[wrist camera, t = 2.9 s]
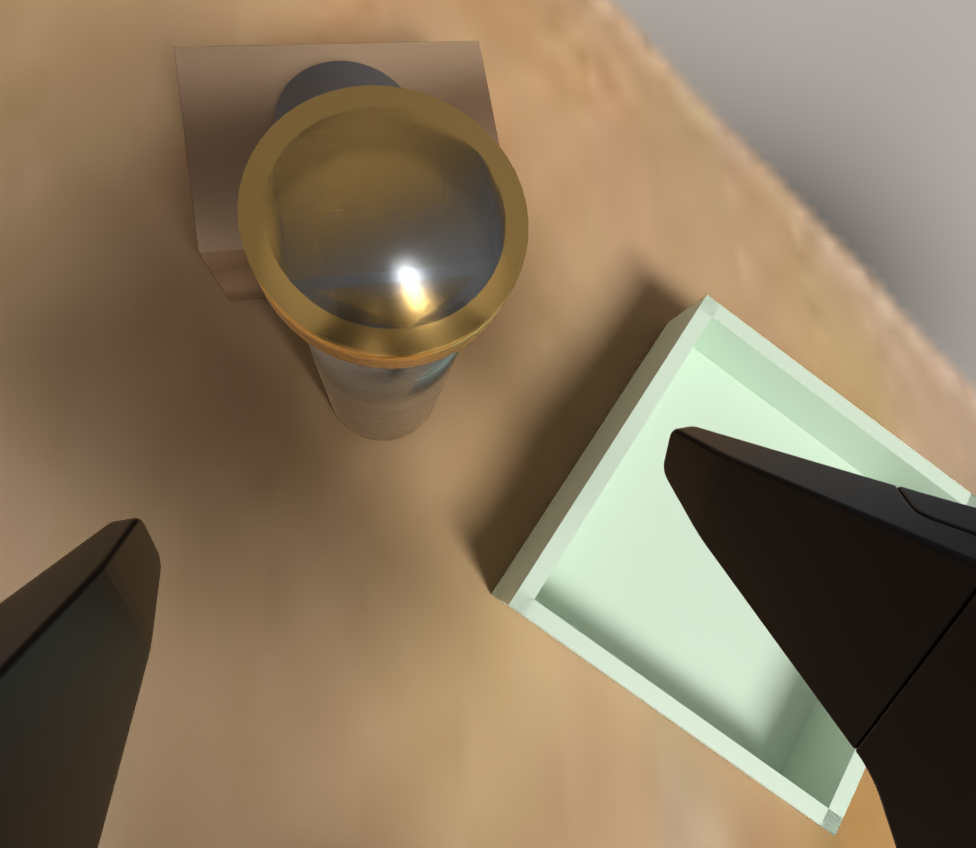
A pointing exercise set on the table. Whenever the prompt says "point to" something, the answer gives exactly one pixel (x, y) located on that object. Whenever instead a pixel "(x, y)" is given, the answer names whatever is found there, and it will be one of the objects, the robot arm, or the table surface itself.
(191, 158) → the block
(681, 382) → the green tray
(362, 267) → the grey metal cylinder
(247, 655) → the table surface
